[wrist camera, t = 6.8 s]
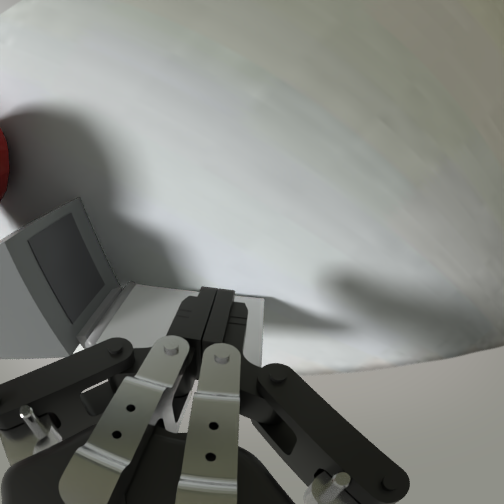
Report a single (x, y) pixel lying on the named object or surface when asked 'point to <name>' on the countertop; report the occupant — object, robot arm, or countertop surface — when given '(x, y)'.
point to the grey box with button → (53, 285)
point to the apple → (3, 164)
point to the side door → (165, 318)
